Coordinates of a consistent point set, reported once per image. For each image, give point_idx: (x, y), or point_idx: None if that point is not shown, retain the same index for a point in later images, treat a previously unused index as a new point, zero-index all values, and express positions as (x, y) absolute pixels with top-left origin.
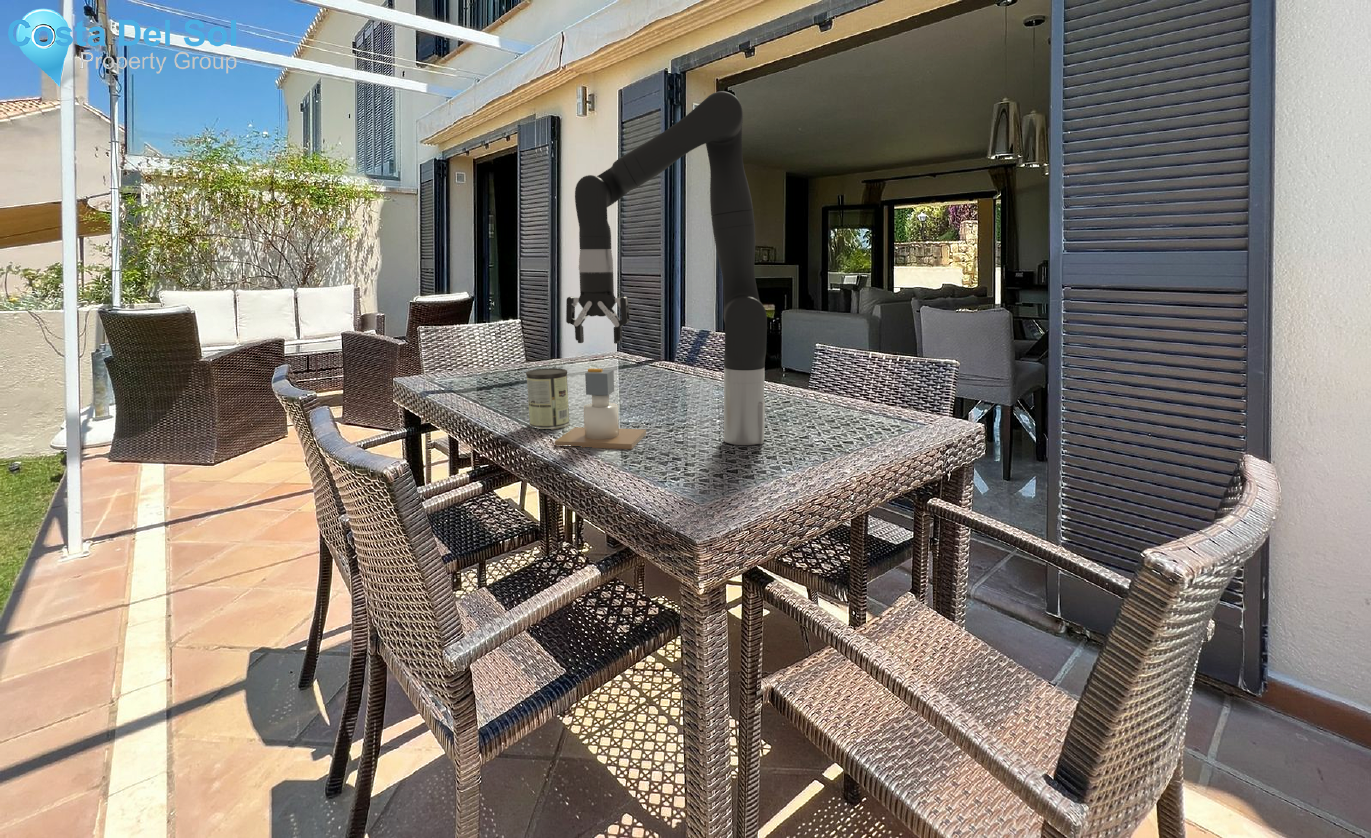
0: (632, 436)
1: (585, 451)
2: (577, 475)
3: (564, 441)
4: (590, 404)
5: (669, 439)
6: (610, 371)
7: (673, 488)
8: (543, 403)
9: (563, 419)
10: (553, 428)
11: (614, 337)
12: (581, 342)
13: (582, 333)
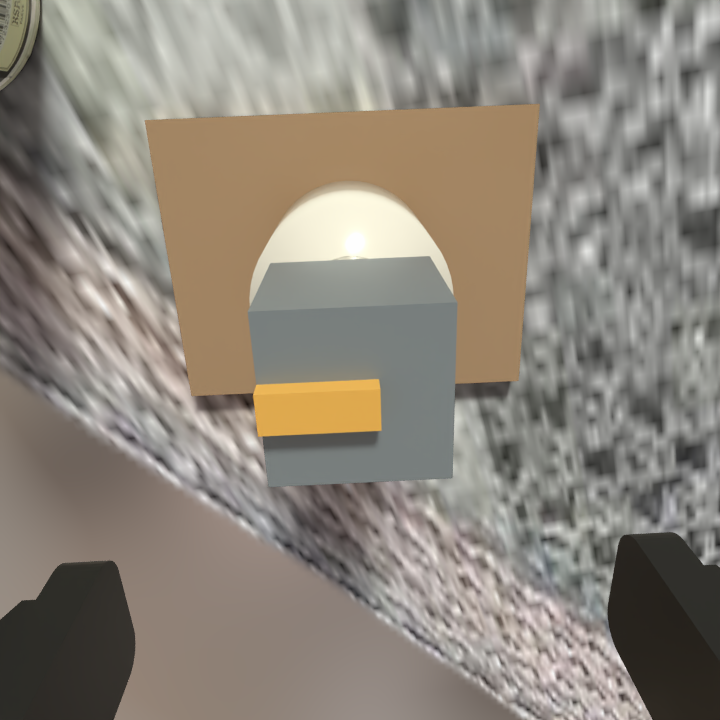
0: (497, 260)
1: None
2: (413, 639)
3: (233, 393)
4: None
5: (654, 184)
6: (450, 379)
7: None
8: None
9: (12, 20)
10: (5, 84)
11: (654, 704)
12: (130, 634)
13: (63, 706)
